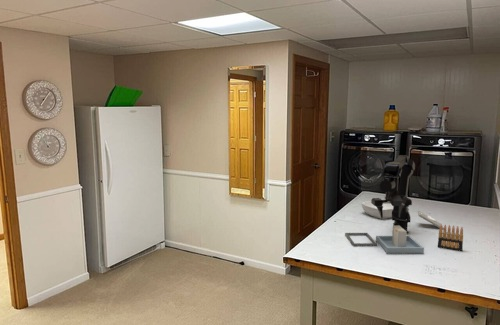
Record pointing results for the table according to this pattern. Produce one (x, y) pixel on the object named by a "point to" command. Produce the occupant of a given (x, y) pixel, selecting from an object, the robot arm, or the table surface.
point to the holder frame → (360, 243)
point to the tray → (390, 248)
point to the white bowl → (373, 210)
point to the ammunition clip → (451, 238)
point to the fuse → (399, 236)
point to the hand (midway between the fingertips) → (390, 217)
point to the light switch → (429, 219)
